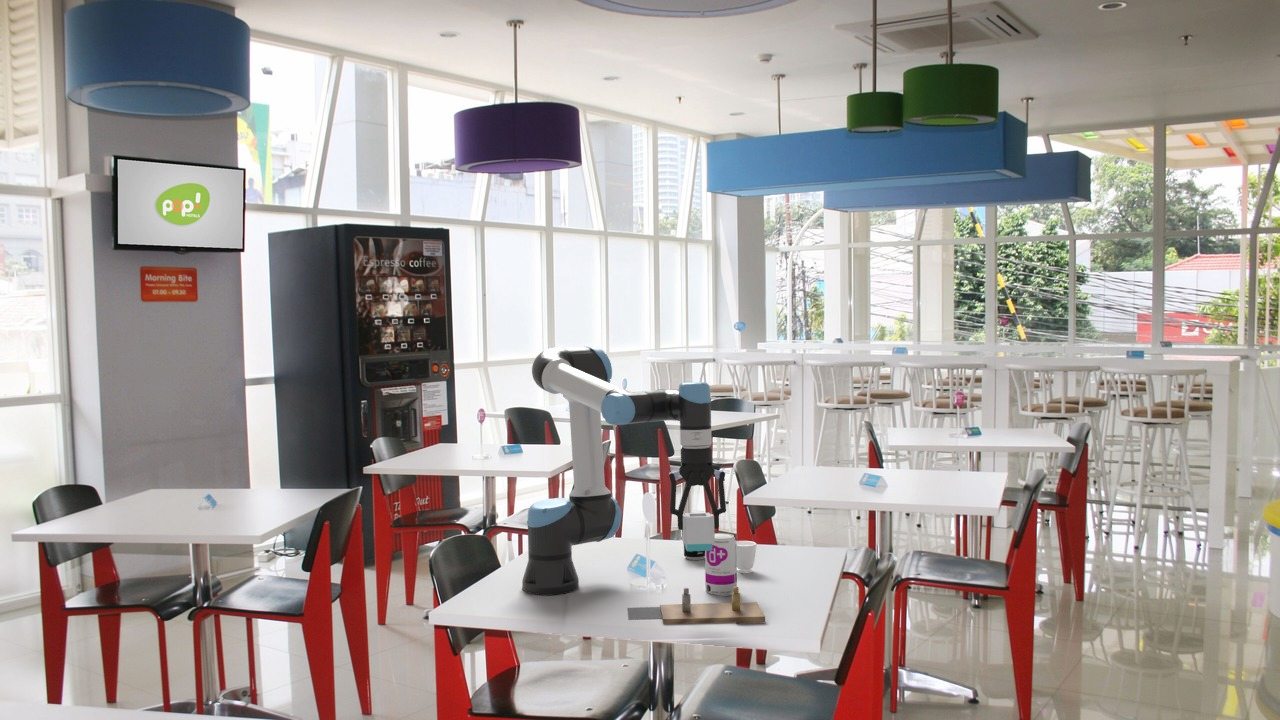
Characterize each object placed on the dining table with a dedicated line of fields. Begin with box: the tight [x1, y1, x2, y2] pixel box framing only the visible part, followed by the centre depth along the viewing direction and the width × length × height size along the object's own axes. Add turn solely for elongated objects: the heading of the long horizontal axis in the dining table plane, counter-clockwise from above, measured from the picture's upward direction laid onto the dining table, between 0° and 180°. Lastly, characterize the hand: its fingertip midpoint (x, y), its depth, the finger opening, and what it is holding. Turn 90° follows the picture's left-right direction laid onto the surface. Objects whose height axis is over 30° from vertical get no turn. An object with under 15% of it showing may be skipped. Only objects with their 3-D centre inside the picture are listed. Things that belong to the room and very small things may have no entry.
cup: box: [736, 540, 758, 574], centre depth 279 cm, size 7×10×8 cm
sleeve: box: [684, 512, 712, 551], centre depth 236 cm, size 6×6×8 cm
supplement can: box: [704, 532, 738, 597], centre depth 257 cm, size 8×8×15 cm
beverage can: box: [683, 544, 705, 561], centre depth 296 cm, size 7×7×12 cm
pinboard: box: [659, 586, 766, 625], centre depth 236 cm, size 24×12×7 cm, turn 92°
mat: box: [626, 606, 662, 621], centre depth 238 cm, size 10×10×1 cm
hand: (698, 542), depth 236 cm, fingers closed on sleeve, 6 cm apart
